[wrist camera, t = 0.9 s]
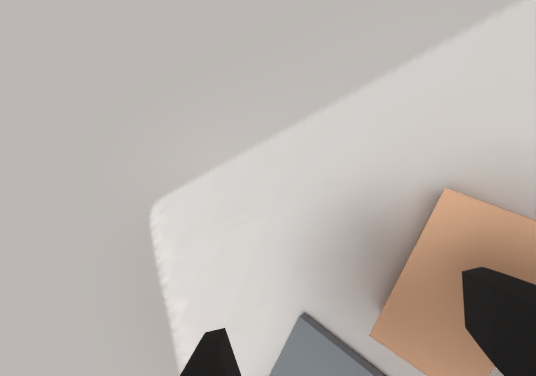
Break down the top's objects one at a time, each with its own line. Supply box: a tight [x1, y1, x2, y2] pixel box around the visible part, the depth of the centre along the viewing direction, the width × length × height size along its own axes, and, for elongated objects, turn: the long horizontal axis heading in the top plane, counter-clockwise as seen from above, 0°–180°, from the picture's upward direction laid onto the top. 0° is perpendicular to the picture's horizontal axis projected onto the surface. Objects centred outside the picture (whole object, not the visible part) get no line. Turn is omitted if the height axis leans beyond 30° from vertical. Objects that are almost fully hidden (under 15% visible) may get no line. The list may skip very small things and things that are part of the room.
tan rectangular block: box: [369, 188, 536, 376], centre depth 16 cm, size 5×9×4 cm, turn 153°
